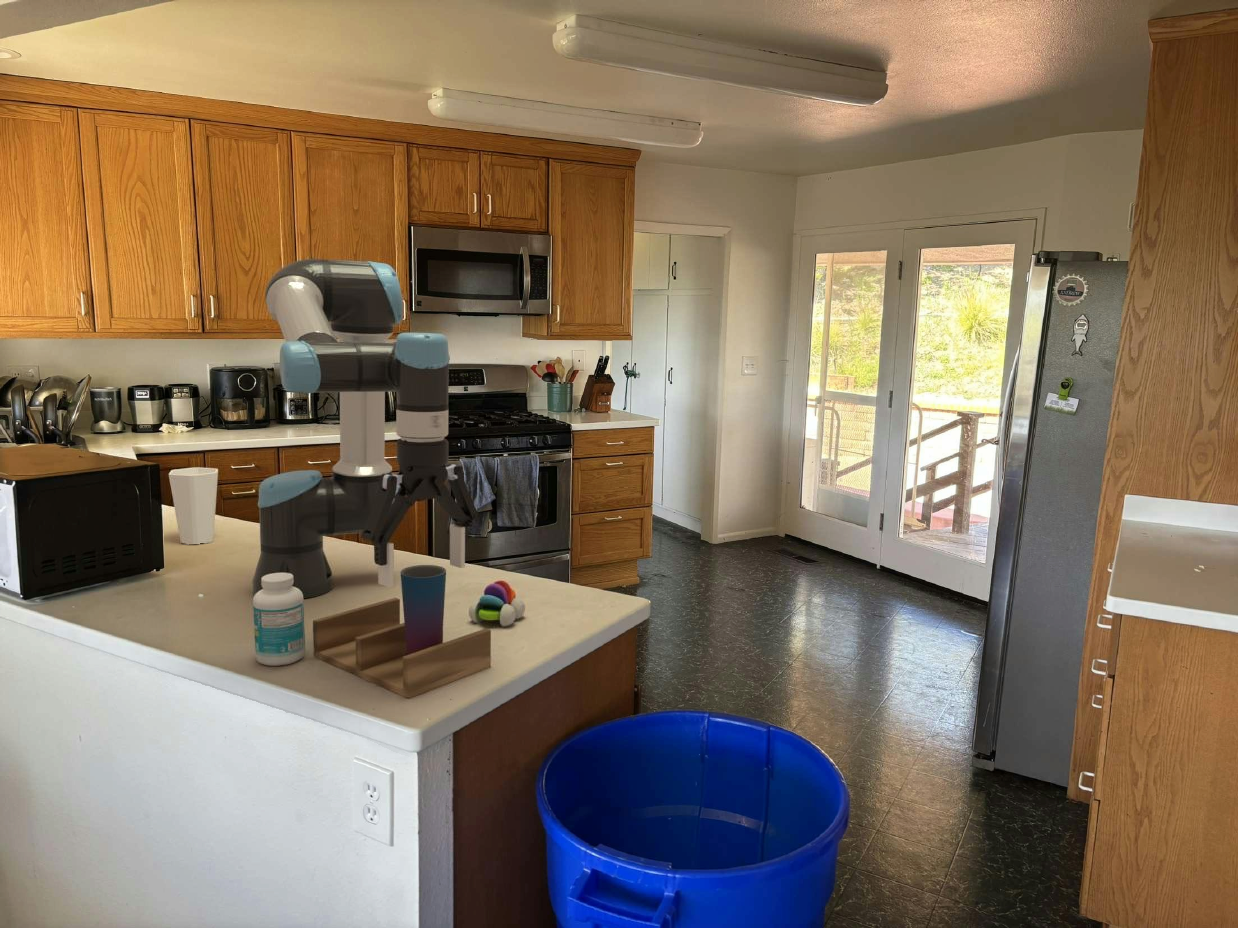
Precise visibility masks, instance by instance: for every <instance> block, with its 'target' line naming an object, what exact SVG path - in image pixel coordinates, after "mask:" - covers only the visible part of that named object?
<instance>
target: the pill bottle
mask: <svg viewBox="0 0 1238 928" xmlns="http://www.w3.org/2000/svg"><path fill="white" fill-rule="evenodd" d="M293 583H294V579H293V575H292V574H290V573H272V574H268V575H265V576H263V577H262V578H261V585H262V587H263V589H262V590H260V591H259V592H257V593H256V594H255V595H253V598H252V612H253V630H254V631H253V633H254V652H255V653H254V654H255V655H254V656H255V659H256V661H257V662H258V663H260V664H261V665H265V666H271V667H274V666H275V667H277V666H279V667H280V666H285V665H290V664H294V663H296V662H298V661H299V660H301V659H302V658H303V657H304V656H305V654H306V637H305V636H306V633H305V630H306V629H305V608H304V607H305V606H304V604H305V603H304V598H303V594H302V592H301V591H300V590H299V589H298V588H296V587H293V586H292V585H293Z"/></svg>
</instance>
